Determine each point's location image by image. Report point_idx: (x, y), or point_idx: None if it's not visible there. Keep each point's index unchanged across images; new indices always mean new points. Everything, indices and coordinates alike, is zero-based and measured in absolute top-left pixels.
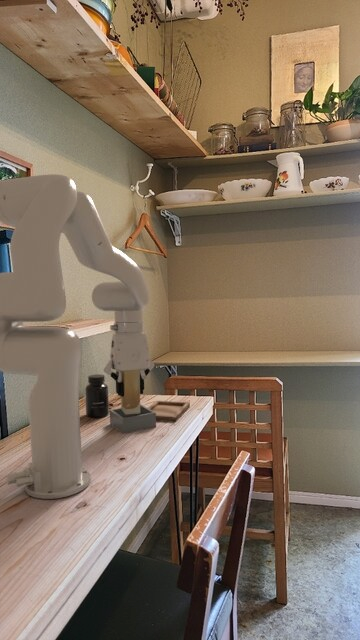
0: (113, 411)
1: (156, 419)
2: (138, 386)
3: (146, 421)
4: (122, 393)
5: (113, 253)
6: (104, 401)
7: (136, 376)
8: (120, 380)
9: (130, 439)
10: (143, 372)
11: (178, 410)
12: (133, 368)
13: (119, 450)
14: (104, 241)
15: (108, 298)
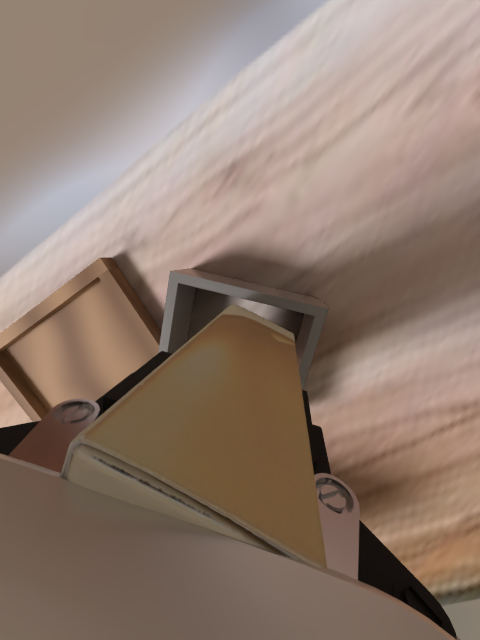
0: None
1: (151, 320)
2: (198, 345)
3: (221, 279)
4: (303, 398)
5: None
6: None
7: (177, 399)
8: (322, 489)
9: (338, 229)
10: (31, 448)
11: (45, 333)
12: (149, 534)
13: (449, 157)
14: None
15: None
